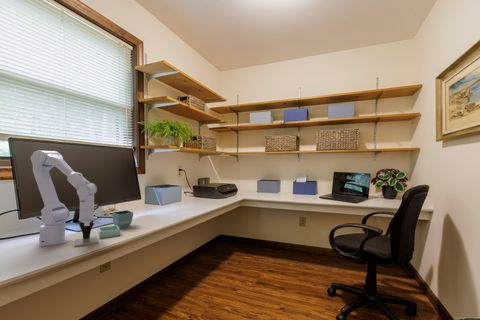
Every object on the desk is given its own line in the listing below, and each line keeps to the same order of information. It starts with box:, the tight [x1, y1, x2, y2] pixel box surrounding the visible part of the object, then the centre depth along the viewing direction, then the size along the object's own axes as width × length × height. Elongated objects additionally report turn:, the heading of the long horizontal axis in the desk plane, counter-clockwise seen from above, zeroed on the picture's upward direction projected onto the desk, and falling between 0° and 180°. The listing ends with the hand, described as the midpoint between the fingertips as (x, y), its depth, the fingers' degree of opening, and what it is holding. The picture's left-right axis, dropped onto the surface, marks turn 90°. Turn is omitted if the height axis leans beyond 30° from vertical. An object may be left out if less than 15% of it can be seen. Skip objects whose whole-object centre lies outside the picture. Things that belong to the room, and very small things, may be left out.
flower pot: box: [111, 210, 134, 230], centre depth 133 cm, size 9×9×9 cm
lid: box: [74, 235, 99, 248], centre depth 108 cm, size 9×9×6 cm
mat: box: [72, 236, 100, 249], centre depth 108 cm, size 10×10×1 cm
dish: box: [97, 225, 121, 240], centre depth 119 cm, size 9×9×4 cm
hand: (86, 237), depth 108 cm, fingers closed on lid, 3 cm apart
